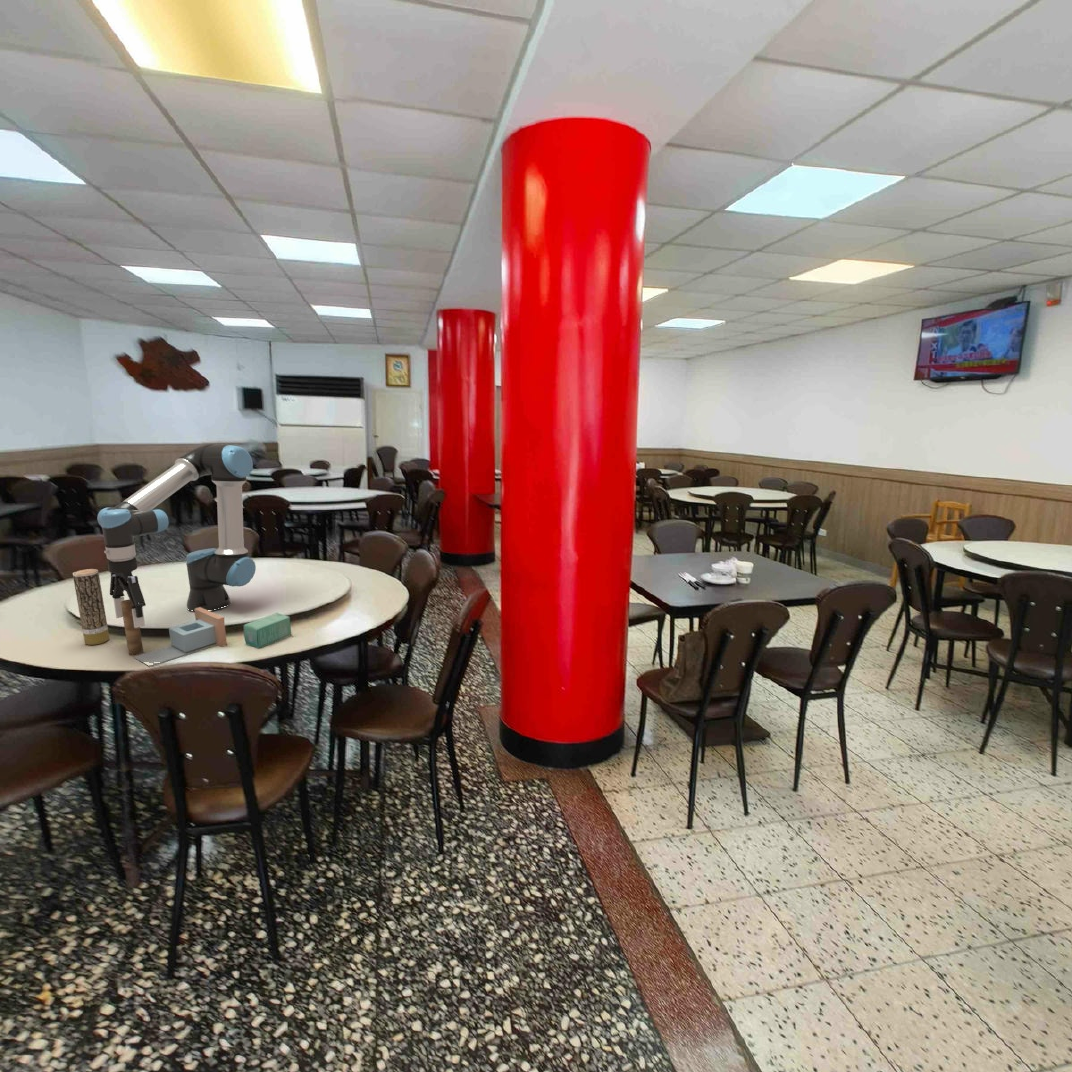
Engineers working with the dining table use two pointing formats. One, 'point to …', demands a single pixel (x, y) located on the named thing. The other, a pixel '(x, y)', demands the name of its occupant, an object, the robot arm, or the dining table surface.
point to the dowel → (131, 630)
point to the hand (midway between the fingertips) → (130, 621)
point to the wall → (215, 621)
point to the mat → (166, 654)
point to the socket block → (192, 635)
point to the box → (267, 630)
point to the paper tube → (91, 606)
